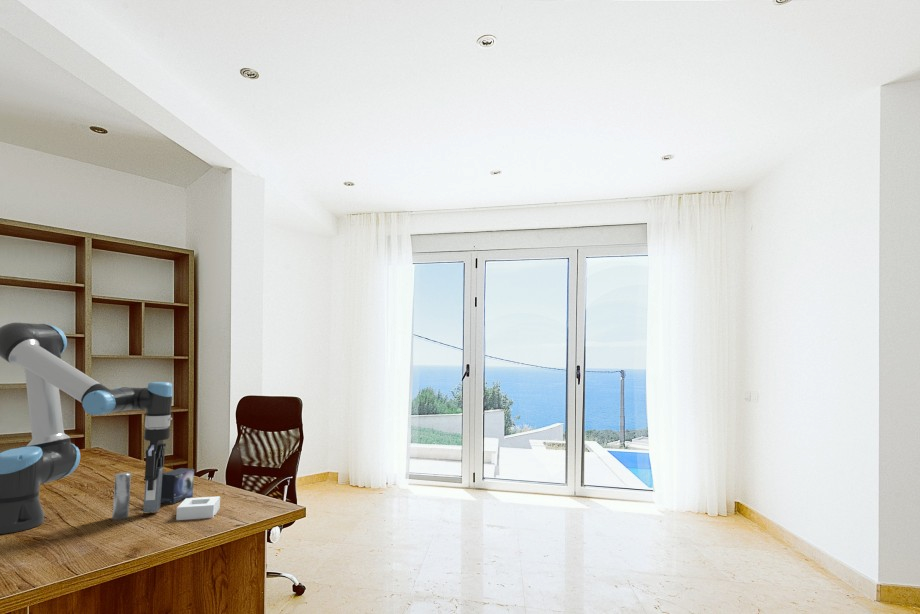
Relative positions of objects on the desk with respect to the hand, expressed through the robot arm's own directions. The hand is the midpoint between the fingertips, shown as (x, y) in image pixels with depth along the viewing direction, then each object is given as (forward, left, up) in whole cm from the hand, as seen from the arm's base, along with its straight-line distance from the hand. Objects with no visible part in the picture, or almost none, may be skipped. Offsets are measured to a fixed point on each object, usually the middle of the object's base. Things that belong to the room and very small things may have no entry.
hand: (152, 497), depth 174 cm
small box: (+3, +16, -6) cm, 17 cm away
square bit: (0, 0, -4) cm, 4 cm away
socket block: (+15, -4, -5) cm, 17 cm away
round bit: (-9, -2, -5) cm, 10 cm away
